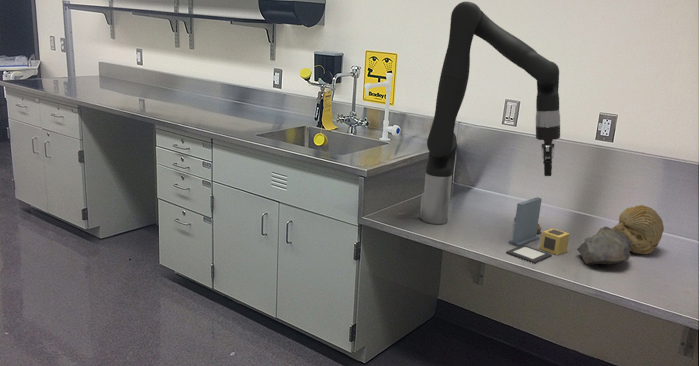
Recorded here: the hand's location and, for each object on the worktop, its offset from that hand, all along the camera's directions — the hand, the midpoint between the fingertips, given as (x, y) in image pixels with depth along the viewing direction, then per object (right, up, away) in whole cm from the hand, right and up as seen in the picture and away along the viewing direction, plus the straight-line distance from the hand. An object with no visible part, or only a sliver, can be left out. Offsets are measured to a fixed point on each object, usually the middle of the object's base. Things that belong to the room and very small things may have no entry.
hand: (548, 172), depth 192 cm
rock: (-3, -20, +13) cm, 24 cm away
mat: (-10, -26, -11) cm, 29 cm away
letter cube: (0, -25, -5) cm, 25 cm away
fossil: (+28, -25, 0) cm, 37 cm away
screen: (-8, -23, +1) cm, 24 cm away
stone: (+12, -28, -13) cm, 33 cm away
